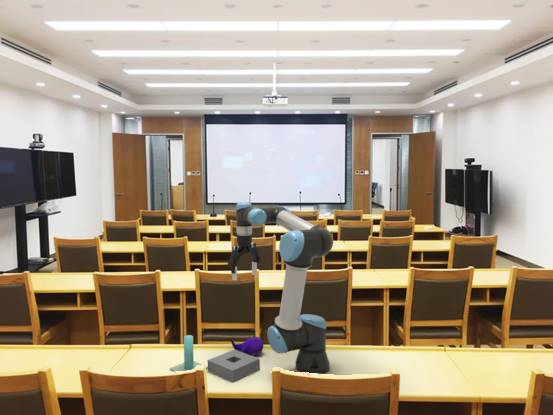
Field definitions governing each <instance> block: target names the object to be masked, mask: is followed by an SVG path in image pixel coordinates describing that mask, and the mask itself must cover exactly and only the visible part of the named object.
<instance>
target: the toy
mask: <svg viewBox="0 0 553 415" xmlns="http://www.w3.org/2000/svg"><path fill="white" fill-rule="evenodd" d="M230 342H231V346H232V348H233V350H237V351H240V352H243V353H245V354H248V355H251V356H257V355H260V353H262V352H263V350H264V341H263V340H262V338H260V337H259V336H254V337H250V338H248V339H246V340H245V341H244V342H241V343H235V341H234V340H233V338H230Z"/></svg>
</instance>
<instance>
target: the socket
mask: <svg viewBox="0 0 553 415" xmlns="http://www.w3.org/2000/svg"><path fill="white" fill-rule="evenodd" d="M260 363H261V359H260V358H259V357H256V356H255V355H253V356H251V355H248V354H245V353H243V352H240V351H237V350H235V349H232V350H230V351H228V352H225V353H222V354H220V355H217V356H215V357H212V358H210V359H207V367H208V369H207V372H208V373H211V374H213V375H214V376H218V377H219V378H221V379H224V380H227V381H229V382H231V383H234V382H237V381H238V380H241V379H243V378H246V377H247V375H248V376H250V375H252V374H254V373H256V372H258V371H260V368H261V367H260V366H261V364H260Z"/></svg>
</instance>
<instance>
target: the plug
mask: <svg viewBox="0 0 553 415" xmlns="http://www.w3.org/2000/svg"><path fill="white" fill-rule="evenodd" d="M183 357H184V358H183V360H184V361H183V363H184V369H186V370H190V369H193V368H194V361H195V360H194V336H193V335H192V334H187V335H184V336H183Z"/></svg>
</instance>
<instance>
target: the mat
mask: <svg viewBox="0 0 553 415" xmlns="http://www.w3.org/2000/svg"><path fill="white" fill-rule="evenodd" d="M197 365H203V364H202V363H199V362H197V361H196V360H194V368H195V367H196V366H197ZM205 366H206V365H205ZM194 368H193V369H194ZM169 370H170V371H171V372H173V371H187V370H186V369H184V362H183V363H180V364H177V365H174V366H172V367H169ZM190 370H192V369H190ZM206 370H208V365H207V366H206Z"/></svg>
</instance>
